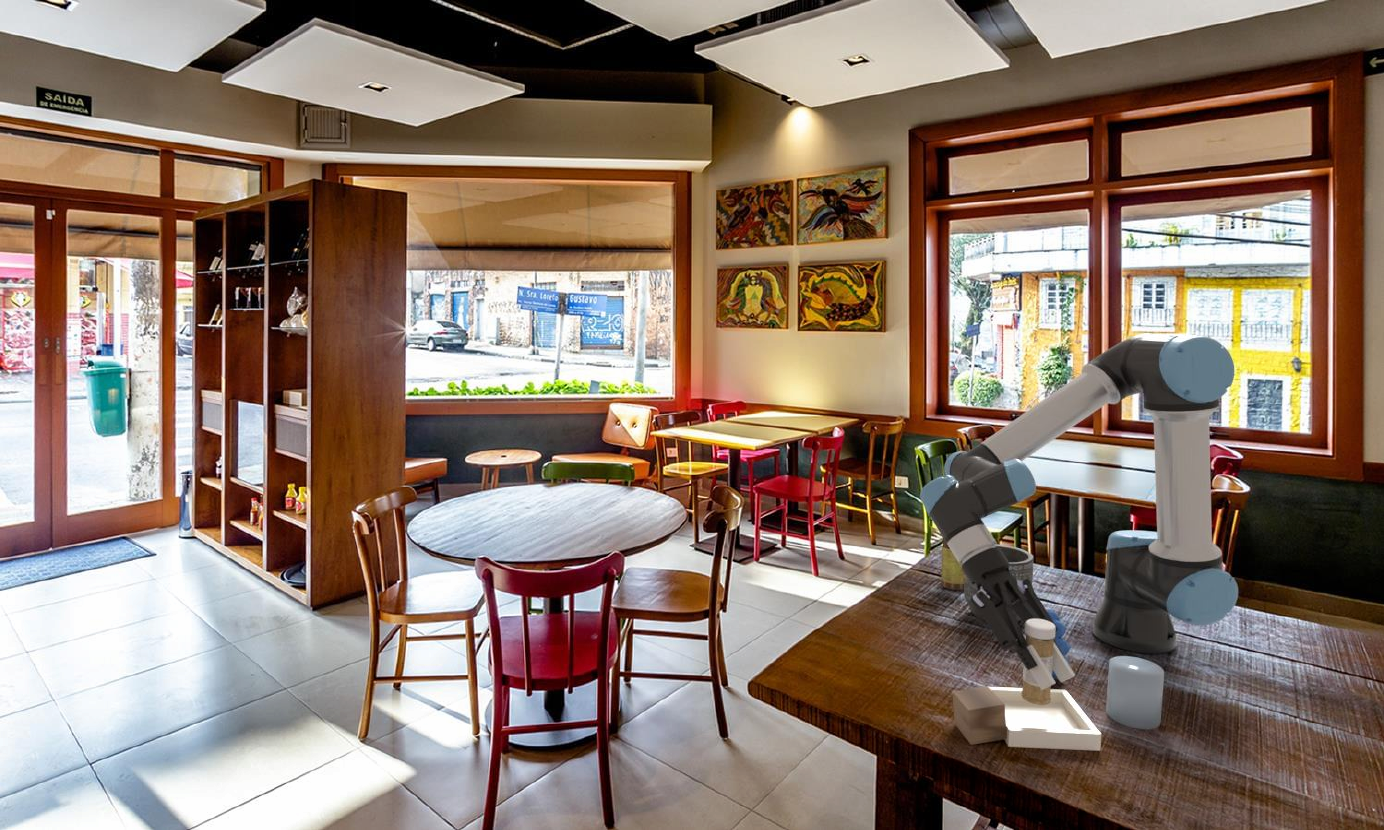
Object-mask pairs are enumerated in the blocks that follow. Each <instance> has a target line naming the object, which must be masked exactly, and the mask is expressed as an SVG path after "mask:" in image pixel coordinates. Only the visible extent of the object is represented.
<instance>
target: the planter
mask: <svg viewBox="0 0 1384 830" xmlns="http://www.w3.org/2000/svg"><path fill="white" fill-rule="evenodd" d="M996 547H998V548H1000V549H1001V551H1002V552H1003V554H1004V555H1005V557H1006V558H1007V560H1008V562H1009V563H1010V566H1009V572H1010V573H1011V574H1012V575H1013V576H1014V577H1015V578H1016V579H1017V580H1020V581H1024V580H1025V579H1029V580H1030V581H1031V584H1032V585H1033V581H1034V579H1033V577H1034V555H1033V554H1032V553H1030V552H1029V551H1027V550H1025V549H1022V548H1019V547H1017V546H1016V547H1015V546H1011V545H1006V544H996ZM963 590H964V591H963V597H964V599H965V601H966V603H967V606H968V607H969V609H970V610H971V612H972V614H973V615H974V617H976V619H979V620H980V621H983V622H986V621H985V619H984V617H983V616H982V614H981V612H980V611H979V610H978V609H977V608H976V607H975V606H974V604H973V603H972V602H971V601H970V598H971V597H973V596H974V595H975V594H977V593H978V590H977V586H976V585H973V584H971V583H970V581H969V580H968V578H967V577H966V575H965V583H964V589H963ZM1017 601H1018V600H1017ZM1017 601H1015V602H1017ZM1015 602H1014V603H1015ZM1012 611H1013V613H1014V615H1015V618H1016V620H1017V622H1019V621H1020V620H1021V619H1020V617H1019V616H1018V615H1017V614H1016V613H1015V611H1014V610H1012ZM986 623H987V622H986Z"/></svg>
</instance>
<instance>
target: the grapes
mask: <svg viewBox="0 0 1384 830" xmlns="http://www.w3.org/2000/svg"><path fill="white" fill-rule="evenodd" d="M1046 611H1047V612H1048V614H1049V615H1050V617H1051V619H1052V620H1053V622H1054V623H1055V625H1056V627H1057V628H1058V631H1057V632H1056V633H1057V635H1056V636H1055V638H1054V640H1055V642H1056V643H1057V645H1058V647H1059V648H1060V650H1061V651H1062V653H1063V657H1064V658H1065V660H1066V661H1067V663H1068V665H1069V666H1070V667H1071V662H1070V660H1068V658H1067V657H1066V656H1067V655H1068V653H1069V652H1070V650H1071V645H1070V644H1069V643H1068V641H1067V640H1066V639H1064V638H1063V637H1064V635H1065V633H1066V632H1067V628H1066V626H1065V624H1063V623H1062V622H1061V621H1060V617H1059V616H1058V614H1057V613H1056V612H1055V611H1053V610H1052V609H1048V610H1046ZM1052 677H1053V679H1054V680H1056V679H1057V680H1059V679H1058V677H1057V675H1056V674H1055V672H1054V671H1053V669H1052Z"/></svg>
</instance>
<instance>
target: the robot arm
mask: <svg viewBox="0 0 1384 830" xmlns="http://www.w3.org/2000/svg"><path fill="white" fill-rule="evenodd" d="M1234 377H1235V362H1234V360H1233V357H1232V355H1231V353H1230V351H1229V350H1228V349H1227V348H1226V347H1225V346H1224V345H1223V344H1222V343H1221V342H1219V341H1218V340H1216V339H1214V338H1211V337H1209V336H1206V335H1205V336H1204V335H1198V334H1193V333H1157V332H1156V333H1153V332H1150V333H1141V334H1137V335H1134V336H1131V337H1129V338H1127V339H1125V340H1123V341H1121V342H1118V343H1117V344H1115V345H1114V346H1112V347H1110V348H1109V349H1107V350H1105V351H1104V352H1102V353H1101V354H1099V355H1098V356H1096V357H1095V358H1093V359H1091V360H1090V361H1089V362H1088V363H1086V364H1085V365H1083V367H1082V369H1081V373H1080V374H1079V375H1078V376H1076V377H1074V378H1073V379H1072V380H1070V381H1069V382H1067V383H1065V385H1062V387H1060V388H1059V389H1057V390H1055V391H1054V392H1053V393H1051V394H1050V395H1049V396H1047V397H1046V398H1045V399H1042V400H1041V401H1039V402H1038V403H1037V404H1035V405H1034V406H1033V407H1031V408H1029V410H1027V411H1025V412H1024V413H1022V414H1021V415H1020V416H1019V417H1017V418H1015V419H1014V420H1013V421H1011V422H1009V423H1008V424H1006V425H1005V426H1004V427H1002V428H1000V430H998V431H996V432H995V433H994V434H992V435H991V436H989V437H988V438H987V439H985V440H984V441H982V442H981V443H978V445H976V446H975V447H973V448H972V449H969V450H968V451H967V450H959V451H956V452H953V453H951V454H950V455H949V456H948V457H947V458H946V460H945V463H944V466H943V471H944V476H939V477H936V478H934V479H933V480H931V481H929V482H928V483H927V484H925V485H924V486H923V487H922V489H921V490H920V493H919V498H920V501H921V503H922V505H923V507H924V509H925V510H926V513H927V516H928V517H930V518H931V520H932V522H933V523H934V526H935V527H936V528H937V530H938V531H939V533H940V535H941V536H942V539H943V538H944V540H945V541H946V543H947V545H948V546H949V548H950V549H951V551H952V553H953V554H954V556H955V558H956V559H957V561H958V563H960V564H963V565H962V570H963V572H964V573H965V575H966V577H967V578H968V580H969V581H970V583H971V584H973V585H976V586H977V590H978V593H977V594H975V595H974V596H973V597H971V598H970V601H971V602H972V603H973V604H974V606H975V607H976V608H977V609H978V610H979V611H980V612H981V614H982V616H983V617H984V619H985V621H986V624H987V625H988V627H989V629H990V631H991V632H992V634H993V635H994V636H995V639H996V640H997V641H998V643H999V645H1000V646H1001V648H1002V649H1003V650H1004V651H1005V652H1006V651H1008V652H1009V653H1010V654H1012V655H1014V654H1016V655H1017V656H1018V657H1019V659H1020V660H1021V661H1022V664H1024V665H1025V667H1026V668H1027V669H1028V670H1030V672H1031V674H1032V675H1033V677H1034V679H1035V680H1036V682H1037V684H1038V685H1039V687H1040V688H1041V690H1043V689H1046V688H1048V687H1049V686H1053V685H1055V684H1056V679H1055V678H1054V677H1053V676H1051V674H1050V672H1049V671H1048V669H1047V668H1046V666H1045V664H1044V663H1043V661H1042V660H1041V658H1040V656H1039V655H1038V653H1037V652H1036V650H1035V648H1034V647H1033V645H1030V646H1028V647H1026V646H1027V642H1026V637H1025V635H1024V633H1023V632H1022V628H1021V627H1020V625H1019V623H1018V622H1019V621H1018V622H1017V620H1016V618H1015V615H1014V613H1013V611H1012V610H1014V611H1015V613H1016V614H1017V615H1018V616H1019V617H1020V620H1021V621H1022V623H1023V624H1025V622H1026V621H1027V620H1029V619H1043V620H1047V621H1050V622H1052V623H1053V624H1054V625H1055V623H1054V622H1053V620H1052V619H1051V617H1050V615H1049V614H1048V612H1047V610H1046V608H1045V606H1044V604H1043V603H1042V601H1041V600H1040V599H1039V596H1038V595H1037V593H1036V592H1035V590H1034V587H1033V583H1032V584H1031V581H1030V580H1029V579H1025V580H1024V581H1020V580H1017V579H1016V578H1015V577H1014V576H1013V575H1012V574H1011V573H1010V572H1009V566H1010V563H1009V562H1008V560H1007V558H1006V557H1005V555H1004V554H1003V552H1002V551H1001V549H1000V548H998V547H996V544H997V543H998V542H997V541H996V539H995V538H994V536H993V535H992V534H991V531H990V530H989V529H988V528H987V525H985V523H984V522H983V520H982V519H984V518H987V517H988V516H991V515H993V514H995V513H997V512H999V511H1002V510H1004V509H1007V508H1009V507H1010V506H1013V505H1015V504H1020V503H1021V502H1022V501H1024V500H1026V499H1028V498H1030V497H1031V496H1033V495H1034V494H1035V493H1036V490H1037V483H1036V480H1035V478H1034V475H1033V474H1032V471H1031V470H1030V469H1029V467H1028V465H1027V464H1026V463H1024V462H1023V461H1024V460H1026V459H1027V458H1029V457H1030V456H1031V455H1033V454H1035V453H1037V451H1039V450H1040V449H1042V448H1044V447H1045V446H1046V445H1048V444H1049V443H1051V442H1052V441H1054V440H1055V439H1056V438H1058V437H1060V436H1061V435H1063V434H1065V433H1066V432H1067V431H1068V430H1070V429H1071V428H1073V427H1074V426H1076V425H1077V424H1079V423H1080V422H1082V421H1084V420H1085V419H1086V418H1088V417H1090V416H1091V415H1093V413H1095V412H1096V411H1098V410H1099V409H1101V408H1103V407H1104V406H1106V405H1107V404H1110V405H1117V404H1118V403H1120V402H1121V401H1122V400H1124V399H1126V398H1129V397H1131V396H1133V395H1136V394H1142V396H1143V398H1142V399H1143V410H1144V411H1145V412H1146V413H1148V414H1149V415H1150V416H1152V419H1153V437H1154V441H1153V442H1154V465H1155V466H1154V468H1155V469H1154V471H1155V475H1154V476H1155V499H1156V500H1155V503H1156V504H1155V506H1156V531H1150V530H1149V531H1148V530H1133V529H1132V530H1131V529H1129V530H1128V529H1127V530H1118V531H1114V532H1112V533H1110V535H1109V536H1108V540H1107V545H1106V548H1105V550H1106V561H1105V577H1104V579H1105V581H1104V595H1103V600H1102V602H1101V604H1100V605H1099V608H1098V610H1097V612H1096V614H1095V616H1094V618H1093V621H1092V633H1093V635H1094V636H1095V637H1096V638H1097V639H1099V640H1100V641H1102V642H1104V643H1105V644H1108V645H1109V646H1113V647H1115V648H1118V649H1121V650H1124V651H1125V650H1126V651H1129V652H1135V653H1139V654H1166V653H1169V652H1172V651H1174V650H1175V649H1176V646H1177V644H1176V643H1177V642H1176V641H1177V634H1176V630H1175V628H1174V624H1173V621H1172V618H1173V619H1176V620H1179V621H1182V622H1185V623H1186V624H1188V625H1192V626H1196V627H1197V626H1198V627H1199V626H1200V627H1202V626H1203V627H1205V626H1210V625H1213V624H1215V623H1218V622H1220V621H1222V619H1225V618H1226V615H1228V614H1229V613H1231V612H1232V611H1233V609H1234V607H1235V605H1236V604H1237V601H1238V597H1239V587H1238V583H1237V581H1236V580H1235V577H1232V575H1231V574H1230V573H1229V572H1228V571H1225V570H1224V569H1223V553H1222V552H1223V551H1222V550H1221V548H1220V547H1219V546H1218V545H1216V544H1215V543H1214V542H1213V535H1212V531H1213V529H1212V528H1213V527H1212V489H1211V484H1212V483H1211V446H1210V445H1211V444H1210V443H1211V441H1210V417H1211V415H1212V414H1213V413H1214V412H1216V411H1217V410H1218V409H1219V408H1220V398H1222V397H1223V396H1224V395H1225V394H1226V393H1227V392H1228V389H1229V388H1230V387H1232V385H1233V382H1234ZM1017 600H1018V601H1017ZM1015 601H1017V602H1015ZM1014 602H1015V603H1014ZM985 621H984V622H985ZM1055 627H1056V625H1055ZM1057 631H1058V628H1057V627H1056V632H1057ZM1056 632H1055V636H1056V635H1057V633H1056ZM1052 669H1053V671H1054V672H1055V674H1056V675H1057V677H1058V679H1057V680H1059V682H1060V683H1063V682H1066V681H1067V680H1069V679H1072V678H1074V677H1075V676H1076V674H1075V672H1074V671H1073V669H1072V667H1071V665H1070V666H1069V665H1068V663H1067V661H1066V660H1065V658H1064V657H1063V653H1062V651H1061V650H1060V648H1059V647H1058V645H1057V643H1056V642H1055V640H1054V644H1053V668H1052Z"/></svg>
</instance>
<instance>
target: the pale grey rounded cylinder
mask: <svg viewBox="0 0 1384 830" xmlns="http://www.w3.org/2000/svg"><path fill="white" fill-rule="evenodd" d="M1108 663H1109V664H1108V677H1107V678H1108V679H1107V680H1108V681H1107V690H1106V691H1107V692H1106V706H1105V712H1106V714H1107V716H1108V717H1109V718H1110V719H1111V720H1113V721H1115V722H1116V723H1119V724H1120V725H1123V726H1126V727H1129V728H1133V729H1137V730H1154V729H1157V728H1158V727H1160V726H1161V717H1162V705H1163V694H1164V692H1163V691H1164V681H1165V680H1164V679H1165V671H1164V669H1163V668H1162V667H1161V666H1160V665H1158V664H1157V663H1155V662H1152V661H1150V660H1148V659H1144V658H1141V657H1136V656H1128V655H1117V656H1114V657H1112V658H1110V659H1109V662H1108Z"/></svg>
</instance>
